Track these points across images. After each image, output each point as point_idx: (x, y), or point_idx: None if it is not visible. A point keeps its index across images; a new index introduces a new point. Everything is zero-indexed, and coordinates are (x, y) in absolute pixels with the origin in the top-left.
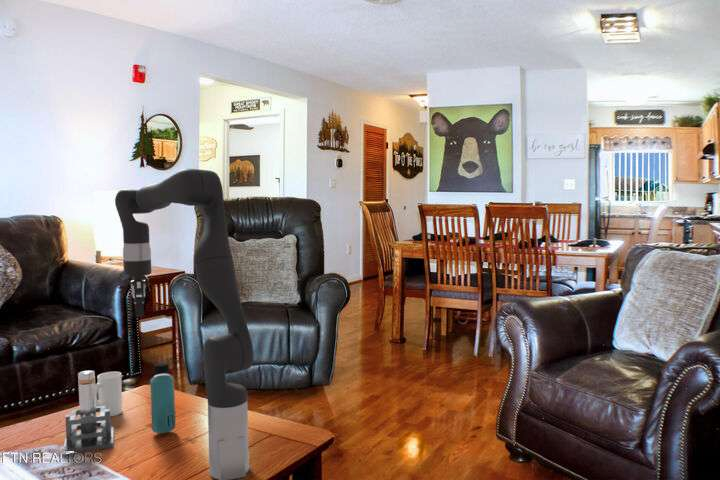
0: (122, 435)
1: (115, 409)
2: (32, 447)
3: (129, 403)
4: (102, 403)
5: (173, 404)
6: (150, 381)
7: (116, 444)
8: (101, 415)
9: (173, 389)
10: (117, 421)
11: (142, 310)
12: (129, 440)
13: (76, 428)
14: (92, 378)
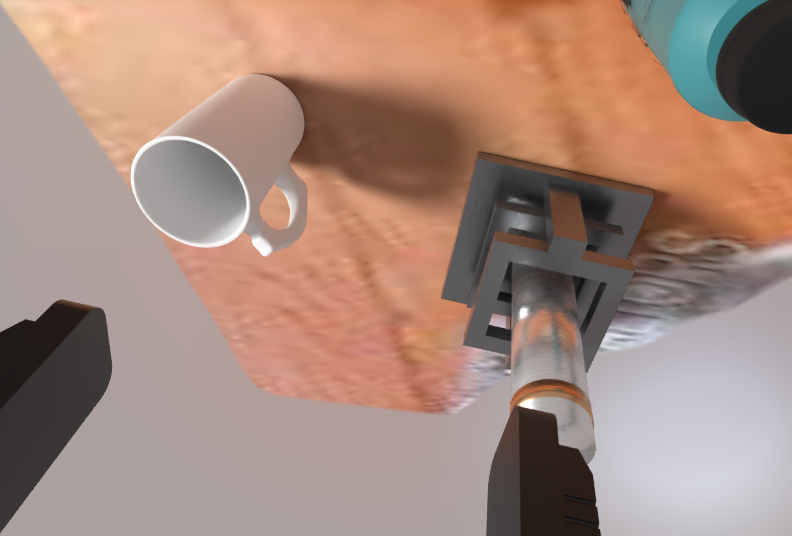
0: (551, 134)
1: (294, 116)
2: (461, 369)
3: (163, 17)
4: (280, 179)
5: None
6: (735, 120)
7: (629, 173)
8: (620, 280)
9: None
10: (377, 115)
11: (557, 496)
12: (627, 123)
13: None
14: (588, 412)
